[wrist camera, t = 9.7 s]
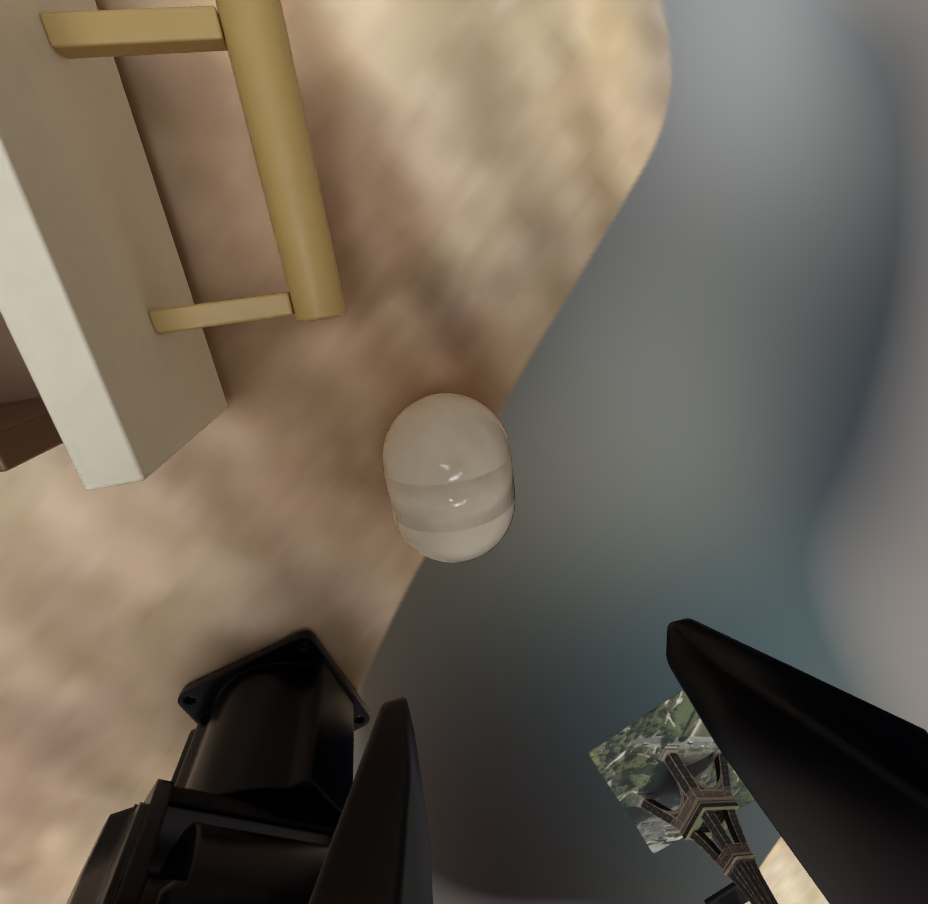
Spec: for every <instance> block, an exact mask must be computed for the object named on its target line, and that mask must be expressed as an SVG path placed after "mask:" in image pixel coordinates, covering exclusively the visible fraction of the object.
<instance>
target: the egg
mask: <svg viewBox="0 0 928 904" xmlns="http://www.w3.org/2000/svg"><path fill="white" fill-rule="evenodd" d="M382 460H383V470H384V474H385V479H386V484H387V489H388V494H389V498H390V503H391V508H392V513H393V516H394V519H395V522H396V525H397V527H398V529H399V531H400V533H401V534H402V536H403V538H404V539H405V540H406V541H407V542H408V543H409V544H410V545H411V546H412V547H413V548H414V549H415V550H416V551H418V552H420V553H421V554H423V555H425V556H426V557H428V558H431V559H434V560H438V561H442V562H448V563H460V562H466V561H470V560H473V559H476V558H478V557H480V556H482V555H484V554H485V553H487V552H488V551H490V550H491V549H493V548H494V547H495V546H496V545H497V544H498V543H499V541H500V540H501V539H502V538H503V537H504V535H505V534H506V532H507V530H508V528H509V526H510V524H511V521H512V518H513V514H514V510H515V489H514V478H513V469H512V458H511V450H510V445H509V440H508V437H507V434H506V432H505V430H504V427H503V426H502V424H501V423H500V421H499V420H498V418H497V417H496V416H495V414H494V413H493V412H492V411H490V410H489V409H488V408H487V407H486V406H485V405H483V404H481V403H480V402H478V401H476V400H475V399H473V398H470V397H467V396H463V395H460V394H453V393H439V394H433V395H430V396H427V397H424V398H421V399H419V400H417V401H415V402H413V403H412V404H411V405H409V406H408V407H406V408H405V409H404V410H403V411H402V412H401V413H400V414H399V415H398V416H397V417H396V419H395V420H394V422H393V423H392V425H391V427H390V428H389V430H388V432H387V435H386V438H385V441H384V448H383V456H382Z"/></svg>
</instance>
